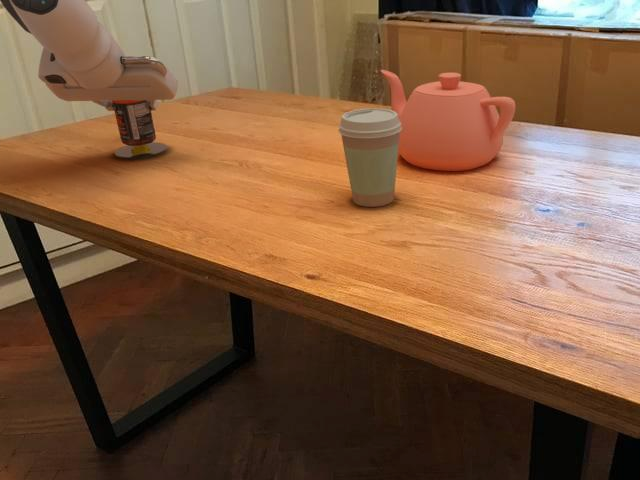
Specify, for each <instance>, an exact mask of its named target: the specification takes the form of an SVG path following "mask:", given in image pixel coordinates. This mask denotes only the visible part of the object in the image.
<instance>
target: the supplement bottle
mask: <svg viewBox="0 0 640 480" xmlns="http://www.w3.org/2000/svg"><path fill="white" fill-rule="evenodd" d="M112 102H113V107H114V111H113V112H114V116H115V119H116V124H117V128H118V134H119V137H120V140H121V144H123V145H125V146H128V145H129V146H138V145H145V144H149V143H152V142H155V140H156V139H157V135H156V129H155V125H154V120H153V115H152V110H148V108H146V107H145V102H146V100H119V101H112Z"/></svg>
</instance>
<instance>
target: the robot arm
mask: <svg viewBox="0 0 640 480" xmlns="http://www.w3.org/2000/svg"><path fill="white" fill-rule="evenodd" d="M88 1H89V0H0V3H1V4H2V6H3V7H4V9H5V11H6V12H7V13H8V14H9V15H10V16H11V18H12V19H13V20H15V22H16V23H17V24H18V25H19V26H20V27H21V28H22V29H23V30H24V31H25V32H26V33H28V34H30V35H32V36H33V37H34V39H36V40H37V42H38V43H39V44H40V45H41V46H42V47H43V48H42V52H41V55H40V58H39V59H40V60H39V65H38V73H37V74H38V75H37V76H38V79H39V80H40V81H42V82H43V83H44V84H45V85H46V87H47V88H48V89H49V91H50V92H52V93H53V95H54V96H55V97H57V98H58V99H60V100H62V101H65V102H92V103H94V104H96V105H99V106H101V107H104V108H105V110H107V112H115V111H114V107H113V102H112V101H119V100H146V102H145V107H146V108H148V110H151V111H158V109H159V101H172V100H174V99H175V97H176V96H177V92H178V84H179V83H178V82H179V81H178V78H177V77H176V75H175V74H174V73H173V72H172V70H171V69H170V68H169V67H168V66H167V65H166V64H165V63H164V62H163V61H162V60H160V59H159V58H156V57H154V56H148V55H142V56H137V55H136V56H130V55H129V56H126V55H125V52H124V50H123V49H122V47H121V46H120V45H119V43H118V42H117V41H116V40H115V37H113V35H112V34H111V32H110V31H109V30H108V28H106V26H104V25H103V24H102V23H101V22H99V20H98V17H97V15H96V13H95V11H94V10H93V8H92V7H91V6H90V4H89V3H88Z"/></svg>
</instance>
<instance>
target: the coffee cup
mask: <svg viewBox="0 0 640 480" xmlns="http://www.w3.org/2000/svg"><path fill="white" fill-rule="evenodd" d="M338 128H339V129H338V133H339V134H340V136H341V141H342V147H343V151H344V157H345V163H346V167H347V168H346V169H347V174H348V180H349V186H350V190H351V191H350V192H351V197H352V201H353V203H354V204H356V205H357V206H360V207H367V208H377V207H383V206H386V205H389V204H391V203H392V202H394V199H395V191H396V181H397V180H396V179H397V170H398V169H397V168H398V157H399V151H398V146H399V134H400V131H401V130H402V127H401V122H400V121H399V118H398V115H397V113H396V112H394V111H392V110H391V109H387V108H377V107H376V108H374V107H373V108H371V107H370V108H361V109H360V108H359V109H353V110H350V111H347V112H345V113H343V114H342V115H341V119H340V123H339V125H338Z"/></svg>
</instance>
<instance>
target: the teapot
mask: <svg viewBox="0 0 640 480" xmlns="http://www.w3.org/2000/svg"><path fill="white" fill-rule="evenodd" d="M380 72H381V74H382V75H383V76H384V77H385V79H386V80H387V82H388V84H389V88H390V98H391V99H390V108H391V109H390V110H392V111H394V112H396V113H397V115H398V118H399V121H400V122H401V127H402V130H401V131H400V134H399V146H398V154H400V156H401V157H402V159H403V160H405V162H407V163H408V164H410V165H412V166H415V167H418V168H422V169H426V170H432V171H441V172H443V171H445V172H462V171H470V170H474V169H478V168H480V167H483V166H485V165H487V164H488V163H490V162H491V161H492V160H493V159H494V158H495V157H496V155H498V153H499V152H500V150H501V149H502V147H503V144H504V133H505V132H506V130H507V129H508V127H509V125H510V124H511V122H512V121H513V118H514V116H515V113H516V107H517V106H516V102H515V100H514V99H512V97H509V96H491V95H490V92H489V91H488V89H487V88H486V86H484V85H482V84H479V83H475V82H468V81H461V78H462V74H461V73H459V72H452V71H451V72H449V71H448V72H442V73H440V74H438V80H439V81H432V82H428V83H427V82H426V83H424V84H420V85H418V86H416V87H415V88H414V89H413V90H412V92H411V93H410V95H409V98H408V99H406V95H405V90H404V87H403V82H402V81H401V80H400V78H399V76H398V75H397V74H395V72H391V71H389V70H386V69H380ZM497 107H498V108H499V110H500V112H498V108H497Z"/></svg>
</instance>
